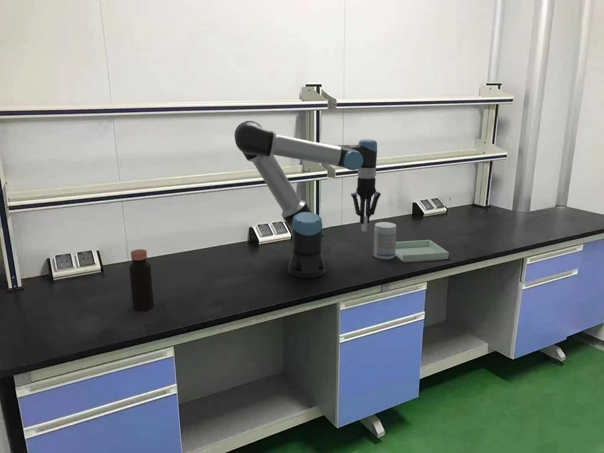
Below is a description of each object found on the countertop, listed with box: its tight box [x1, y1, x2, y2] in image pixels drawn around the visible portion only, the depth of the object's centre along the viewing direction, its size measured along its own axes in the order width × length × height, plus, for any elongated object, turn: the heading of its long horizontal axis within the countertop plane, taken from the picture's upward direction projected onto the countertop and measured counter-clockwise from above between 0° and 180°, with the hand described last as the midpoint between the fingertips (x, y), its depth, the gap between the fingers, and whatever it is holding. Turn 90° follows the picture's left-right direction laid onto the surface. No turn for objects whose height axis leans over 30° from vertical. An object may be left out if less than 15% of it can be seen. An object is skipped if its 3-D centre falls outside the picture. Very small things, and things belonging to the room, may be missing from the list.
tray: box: [395, 239, 450, 264], centre depth 222 cm, size 21×18×3 cm
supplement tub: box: [373, 221, 397, 260], centre depth 216 cm, size 10×10×15 cm
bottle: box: [128, 248, 155, 312], centre depth 164 cm, size 7×7×20 cm
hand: (364, 230), depth 213 cm, fingers closed
